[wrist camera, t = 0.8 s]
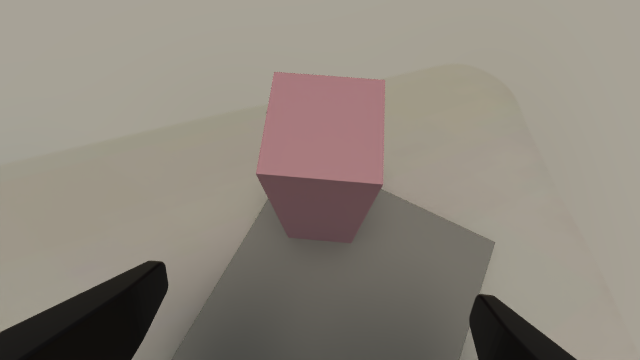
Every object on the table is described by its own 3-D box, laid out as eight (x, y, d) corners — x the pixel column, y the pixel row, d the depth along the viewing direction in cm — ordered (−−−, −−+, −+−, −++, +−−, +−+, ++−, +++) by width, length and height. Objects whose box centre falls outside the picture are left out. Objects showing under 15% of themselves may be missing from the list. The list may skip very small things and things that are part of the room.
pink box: (351, 243, 22) (382, 184, 11) (288, 237, 22) (256, 173, 11) (354, 183, 24) (385, 79, 13) (295, 178, 24) (274, 70, 13)
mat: (391, 566, 16) (393, 572, 16) (148, 400, 19) (145, 402, 19) (492, 243, 22) (495, 242, 22) (297, 152, 25) (297, 149, 25)
